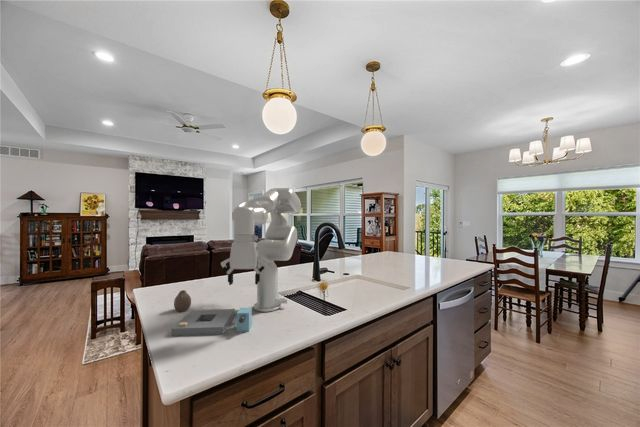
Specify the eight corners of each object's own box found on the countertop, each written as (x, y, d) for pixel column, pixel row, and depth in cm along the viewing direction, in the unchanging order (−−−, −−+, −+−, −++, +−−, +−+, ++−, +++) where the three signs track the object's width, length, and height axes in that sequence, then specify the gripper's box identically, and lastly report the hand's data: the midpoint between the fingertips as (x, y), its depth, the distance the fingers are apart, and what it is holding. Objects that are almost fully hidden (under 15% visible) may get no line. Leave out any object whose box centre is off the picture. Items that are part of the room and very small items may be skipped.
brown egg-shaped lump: (170, 312, 116) (170, 292, 116) (183, 306, 123) (183, 288, 123) (182, 314, 114) (181, 294, 114) (194, 308, 121) (194, 289, 121)
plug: (251, 325, 103) (251, 307, 103) (247, 334, 95) (247, 315, 95) (240, 325, 103) (240, 307, 103) (235, 335, 95) (235, 315, 95)
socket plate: (234, 314, 113) (234, 307, 113) (222, 333, 95) (222, 324, 95) (192, 315, 112) (192, 308, 112) (171, 335, 94) (171, 326, 94)
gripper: (268, 238, 104) (268, 281, 104) (223, 238, 103) (223, 281, 103) (265, 239, 97) (265, 286, 97) (217, 240, 95) (217, 286, 95)
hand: (244, 283), depth 100 cm, fingers open, 9 cm apart
